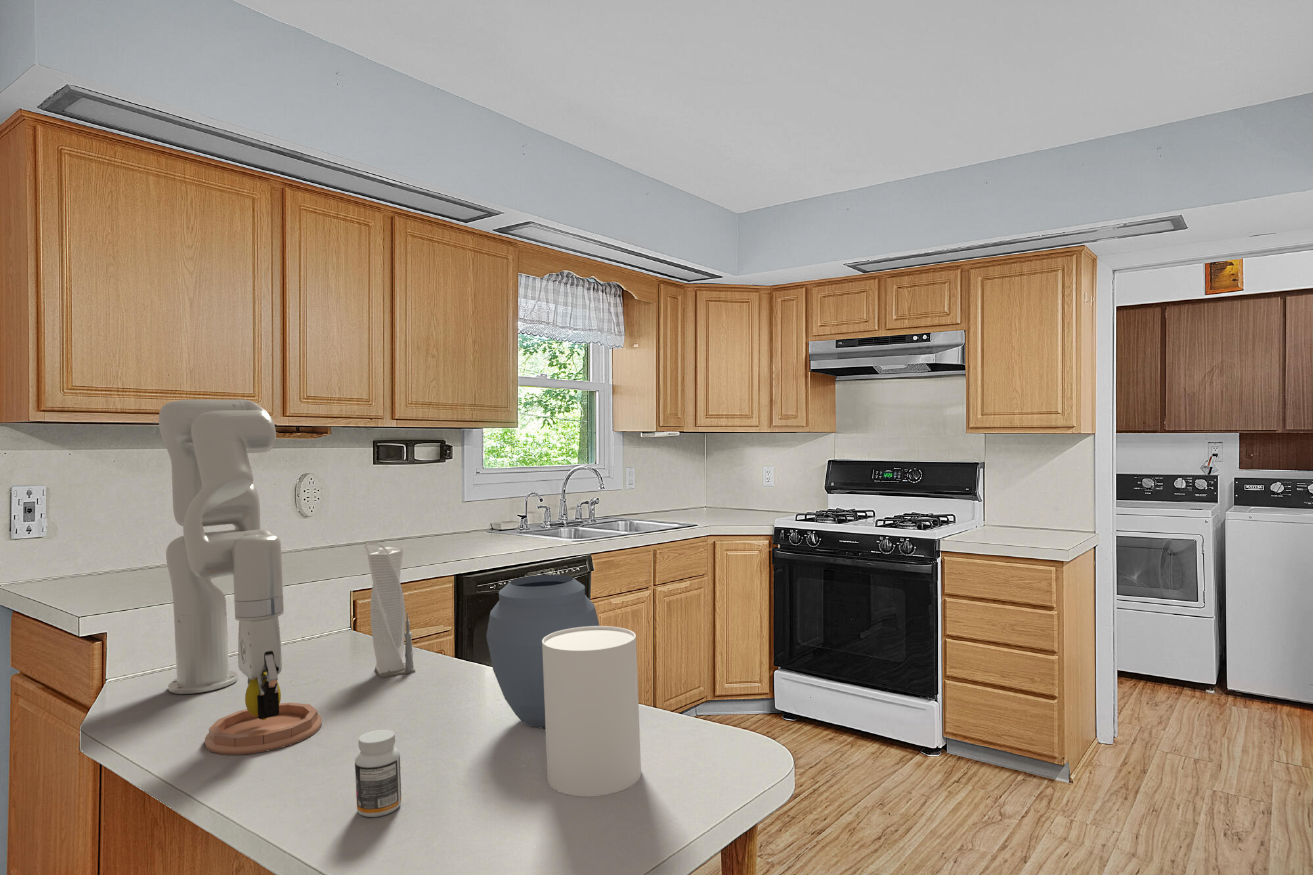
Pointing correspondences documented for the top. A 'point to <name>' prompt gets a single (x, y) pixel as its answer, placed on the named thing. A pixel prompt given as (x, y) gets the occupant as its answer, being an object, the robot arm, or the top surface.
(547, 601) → the vase
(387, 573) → the skyscraper
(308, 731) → the dish
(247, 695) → the lemon
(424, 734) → the top surface
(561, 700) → the canister
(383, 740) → the pill bottle
